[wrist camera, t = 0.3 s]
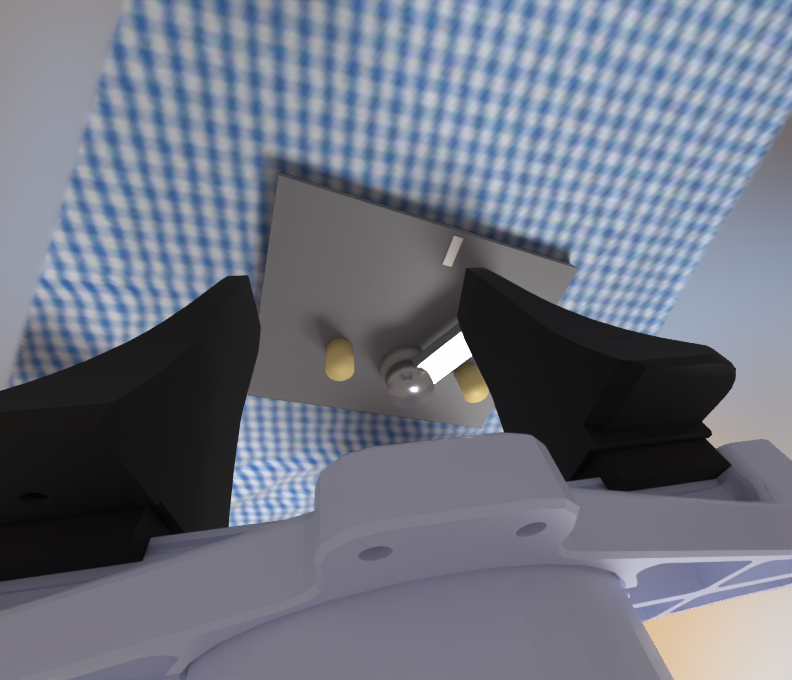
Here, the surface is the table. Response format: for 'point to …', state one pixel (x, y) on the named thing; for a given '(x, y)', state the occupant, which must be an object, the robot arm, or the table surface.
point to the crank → (425, 369)
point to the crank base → (374, 301)
